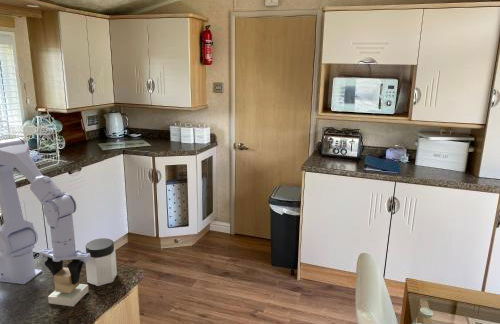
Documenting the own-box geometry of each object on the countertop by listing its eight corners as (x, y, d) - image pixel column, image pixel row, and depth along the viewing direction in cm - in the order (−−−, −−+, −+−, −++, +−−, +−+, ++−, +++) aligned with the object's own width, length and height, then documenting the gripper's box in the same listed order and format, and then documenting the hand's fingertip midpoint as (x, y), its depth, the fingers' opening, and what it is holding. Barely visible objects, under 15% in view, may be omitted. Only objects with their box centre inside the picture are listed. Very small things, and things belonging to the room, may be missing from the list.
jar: (90, 289, 112) (86, 252, 109) (84, 276, 119) (81, 242, 116) (120, 280, 117) (118, 245, 114) (113, 269, 124) (111, 235, 121)
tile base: (48, 303, 105) (47, 296, 104) (65, 288, 112) (64, 281, 112) (73, 306, 104) (72, 299, 103) (88, 291, 111) (87, 284, 111)
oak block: (65, 282, 110) (63, 267, 108) (79, 284, 109) (78, 269, 108) (55, 291, 105) (53, 275, 104) (70, 293, 105) (68, 277, 103)
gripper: (29, 241, 101) (34, 286, 104) (78, 247, 99) (82, 292, 102) (47, 231, 108) (51, 273, 111) (93, 235, 105) (96, 278, 109)
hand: (67, 281), depth 107 cm, fingers closed on oak block, 4 cm apart
